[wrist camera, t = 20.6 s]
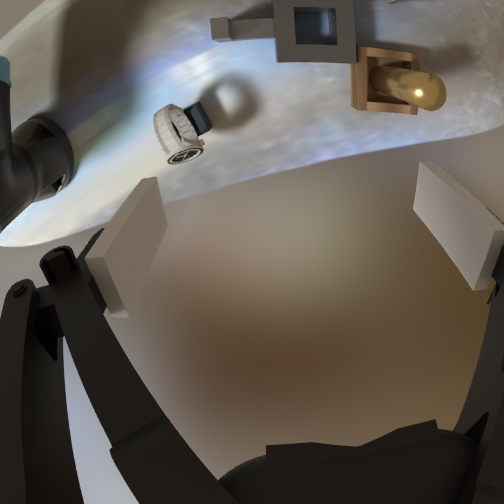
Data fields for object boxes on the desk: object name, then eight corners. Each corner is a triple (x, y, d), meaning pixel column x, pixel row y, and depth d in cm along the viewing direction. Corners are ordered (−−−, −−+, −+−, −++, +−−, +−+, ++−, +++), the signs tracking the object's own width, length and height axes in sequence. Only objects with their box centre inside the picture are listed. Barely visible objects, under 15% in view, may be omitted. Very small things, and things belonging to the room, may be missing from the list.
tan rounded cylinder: (369, 91, 39) (412, 108, 26) (369, 64, 36) (414, 71, 24) (394, 93, 38) (445, 113, 26) (394, 67, 36) (447, 76, 24)
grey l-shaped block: (220, 42, 37) (212, 39, 31) (218, 24, 35) (210, 18, 29) (293, 37, 36) (298, 34, 30) (291, 19, 34) (296, 13, 29)
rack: (350, 105, 41) (358, 110, 38) (350, 47, 36) (357, 46, 33) (406, 109, 41) (417, 114, 37) (407, 53, 35) (419, 54, 32)
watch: (186, 152, 47) (166, 179, 38) (161, 108, 42) (134, 124, 33) (219, 137, 45) (206, 160, 36) (194, 90, 41) (174, 101, 32)
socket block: (276, 62, 38) (277, 62, 34) (271, -3, 33) (272, -10, 28) (347, 63, 38) (356, 63, 33) (343, -1, 32) (352, -7, 28)
